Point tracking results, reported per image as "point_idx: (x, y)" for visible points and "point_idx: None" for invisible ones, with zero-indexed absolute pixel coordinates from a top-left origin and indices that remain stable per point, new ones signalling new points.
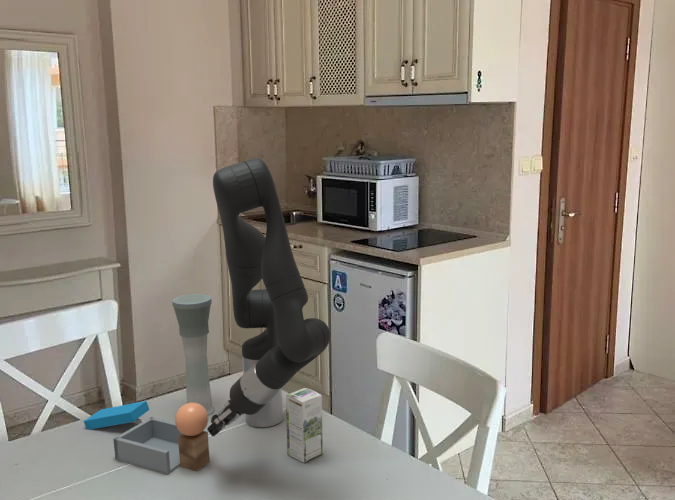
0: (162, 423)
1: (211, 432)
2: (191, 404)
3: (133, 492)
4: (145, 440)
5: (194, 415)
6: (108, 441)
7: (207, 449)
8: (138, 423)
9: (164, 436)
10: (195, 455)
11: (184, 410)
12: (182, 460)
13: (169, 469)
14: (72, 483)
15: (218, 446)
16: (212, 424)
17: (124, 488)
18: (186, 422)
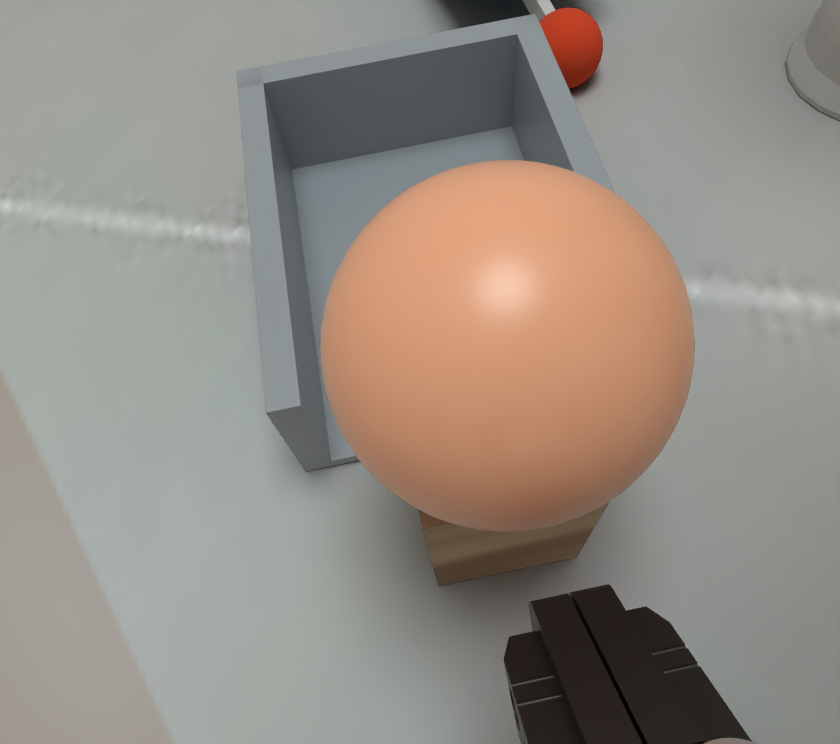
0: (539, 97)
1: (515, 710)
2: (508, 246)
3: (74, 476)
4: (456, 130)
5: (435, 428)
6: (367, 34)
7: (574, 535)
8: (526, 2)
9: None
10: (432, 561)
11: (381, 279)
12: None
13: (320, 460)
14: (30, 201)
15: (737, 445)
16: (563, 686)
17: (87, 406)
18: (343, 419)
